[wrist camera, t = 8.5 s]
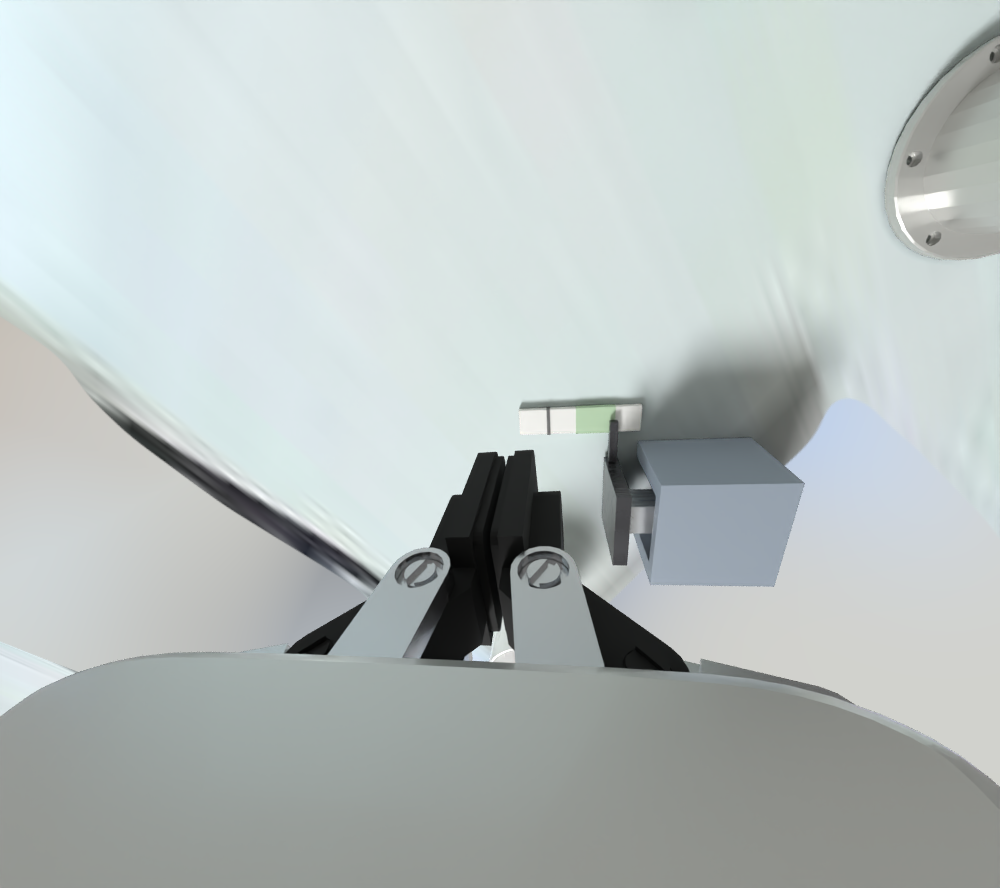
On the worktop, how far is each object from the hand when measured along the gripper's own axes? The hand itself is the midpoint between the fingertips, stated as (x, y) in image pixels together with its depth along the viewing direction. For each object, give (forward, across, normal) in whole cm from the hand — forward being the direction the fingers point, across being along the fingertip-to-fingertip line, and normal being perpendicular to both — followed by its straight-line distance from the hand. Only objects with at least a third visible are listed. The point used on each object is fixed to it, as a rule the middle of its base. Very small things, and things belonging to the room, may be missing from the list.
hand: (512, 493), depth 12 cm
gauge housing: (+24, -8, +13) cm, 28 cm away
